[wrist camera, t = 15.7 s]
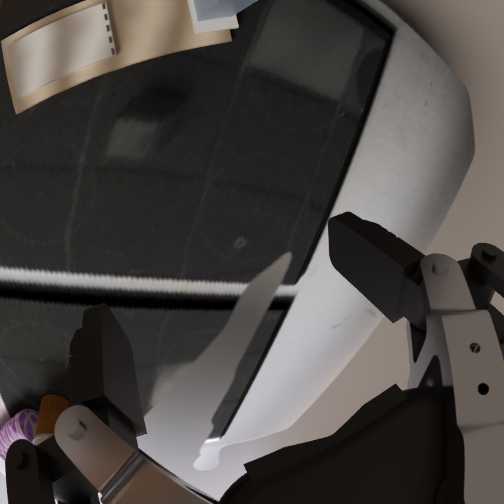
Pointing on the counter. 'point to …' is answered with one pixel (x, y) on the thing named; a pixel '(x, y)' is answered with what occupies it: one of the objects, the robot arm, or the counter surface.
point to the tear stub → (215, 14)
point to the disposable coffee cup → (49, 416)
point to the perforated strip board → (95, 44)
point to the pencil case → (18, 429)
